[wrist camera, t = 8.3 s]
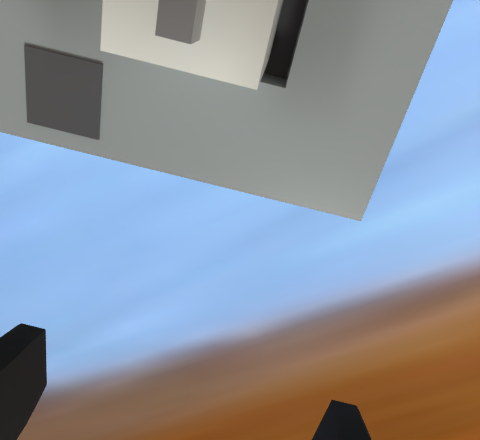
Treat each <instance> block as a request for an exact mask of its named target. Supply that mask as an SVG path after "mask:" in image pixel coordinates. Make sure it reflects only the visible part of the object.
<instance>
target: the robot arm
mask: <svg viewBox="0 0 480 440" xmlns="http://www.w3.org/2000/svg"><path fill="white" fill-rule="evenodd" d="M46 385H47V376H46V332H45V329H42V328H38V327H34V326H30V325H26V324H19V325H17V326H16V327H14V328H13V329H12V330H10V331H9V332H7V333H6V334H5V335H3V336H2V337H0V440H17V438H18V436H19V435H20V433H21V432H22V430H23V429H24V427H25V426H26V424H27V422H28V420H29V418H30V416H31V414H32V412H33V411H34V409H35V407H36V405H37V403H38V401H39V399H40V397H41V395H42V393H43V391H44V389H45V387H46ZM312 440H371V437H370V435H369V433H368V430H367V428H366V426H365V423H364V421H363V419H362V416H361V414H360V412H359V409H358V408H357V406H355V405H351V404H347V403H343V402H339V401H335V400H332V401H331V403H330V405H329V407H328V409H327V411H326V413H325V415H324V417H323V419H322V421H321V423H320V425H319V427H318V429H317V431H316V433H315V435H314V437H313V439H312Z"/></svg>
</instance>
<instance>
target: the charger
mask: <svg viewBox="0 0 480 440" xmlns="http://www.w3.org/2000/svg"><path fill="white" fill-rule="evenodd" d="M282 4H283V0H103V5H102V26H101V46H100V51H104V52H108V53H112V54H116V55H120V56H124V57H128V58H132V59H136V60H140V61H144V62H148V63H152V64H156V65H160V66H164V67H168V68H172V69H176V70H180V71H184V72H188V73H192V74H195V75H199V76H203V77H207V78H211V79H215V80H219V81H223V82H227V83H231V84H235V85H239V86H243V87H247V88H251V89H255V90H257V89H258V86H259V84H260V81H261V79H262V76H263V73H264V71H265V68H266V66H267V63H268V60H269V58H270V54H271V49H272V45H273V41H274V37H275V33H276V29H277V25H278V20H279V16H280V12H281V8H282Z"/></svg>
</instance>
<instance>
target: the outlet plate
mask: <svg viewBox="0 0 480 440" xmlns="http://www.w3.org/2000/svg"><path fill="white" fill-rule="evenodd" d="M452 2H453V0H283V4H282V8H281V12H280V16H279V20H278V25H277V29H276V33H275V37H274V41H273V45H272V49H271V54H270V58H269V60H268V63H267V66H266V68H265V71H264V73H263V76H262V79H261V81H260V84H259V86H258V89H257V90H255V89H251V88H247V87H243V86H239V85H235V84H231V83H227V82H223V81H219V80H215V79H211V78H207V77H203V76H199V75H195V74H192V73H188V72H184V71H180V70H176V69H172V68H168V67H164V66H160V65H156V64H152V63H148V62H144V61H140V60H136V59H132V58H128V57H124V56H120V55H116V54H112V53H108V52H104V51H100V46H101V26H102V5H103V0H0V132H3V133H7V134H11V135H15V136H19V137H23V138H27V139H31V140H35V141H39V142H43V143H47V144H51V145H55V146H59V147H63V148H67V149H72V150H76V151H80V152H84V153H88V154H92V155H96V156H100V157H104V158H108V159H112V160H116V161H120V162H124V163H128V164H132V165H136V166H140V167H144V168H148V169H152V170H156V171H160V172H164V173H168V174H173V175H177V176H181V177H185V178H189V179H193V180H197V181H201V182H205V183H209V184H213V185H217V186H221V187H225V188H229V189H233V190H237V191H241V192H245V193H249V194H253V195H257V196H261V197H265V198H269V199H273V200H278V201H282V202H286V203H290V204H294V205H298V206H302V207H306V208H310V209H314V210H318V211H322V212H326V213H330V214H334V215H338V216H342V217H346V218H350V219H354V220H358V221H361V220H362V217H363V215H364V212H365V210H366V208H367V205H368V203H369V200H370V198H371V196H372V193H373V191H374V188H375V186H376V184H377V181H378V179H379V176H380V174H381V172H382V169H383V167H384V164H385V162H386V160H387V157H388V155H389V152H390V150H391V148H392V145H393V143H394V140H395V138H396V136H397V133H398V131H399V129H400V126H401V124H402V121H403V119H404V117H405V114H406V112H407V109H408V107H409V105H410V102H411V100H412V97H413V95H414V93H415V90H416V88H417V85H418V83H419V81H420V78H421V76H422V73H423V71H424V69H425V66H426V64H427V61H428V59H429V57H430V54H431V52H432V49H433V47H434V45H435V42H436V40H437V38H438V35H439V33H440V30H441V28H442V26H443V23H444V21H445V18H446V16H447V14H448V11H449V9H450V6H451V4H452Z"/></svg>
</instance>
